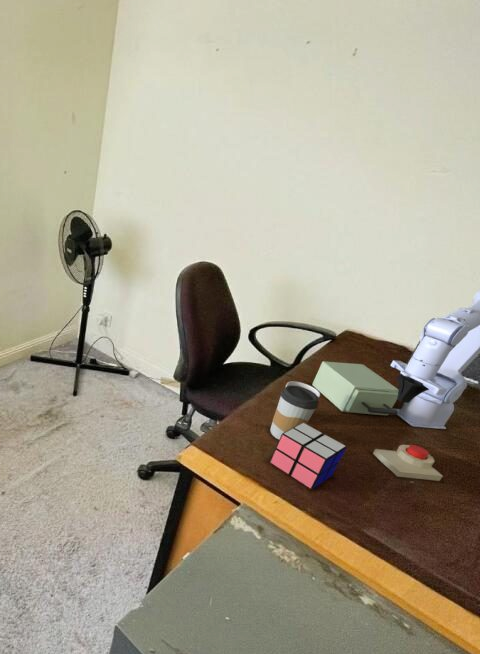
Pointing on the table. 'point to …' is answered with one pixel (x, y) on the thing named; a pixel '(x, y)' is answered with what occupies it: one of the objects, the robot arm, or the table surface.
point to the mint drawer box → (347, 382)
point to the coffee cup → (293, 409)
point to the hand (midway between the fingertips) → (402, 401)
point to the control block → (408, 464)
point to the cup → (304, 387)
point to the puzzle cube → (307, 455)
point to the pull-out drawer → (373, 402)
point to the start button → (417, 452)
